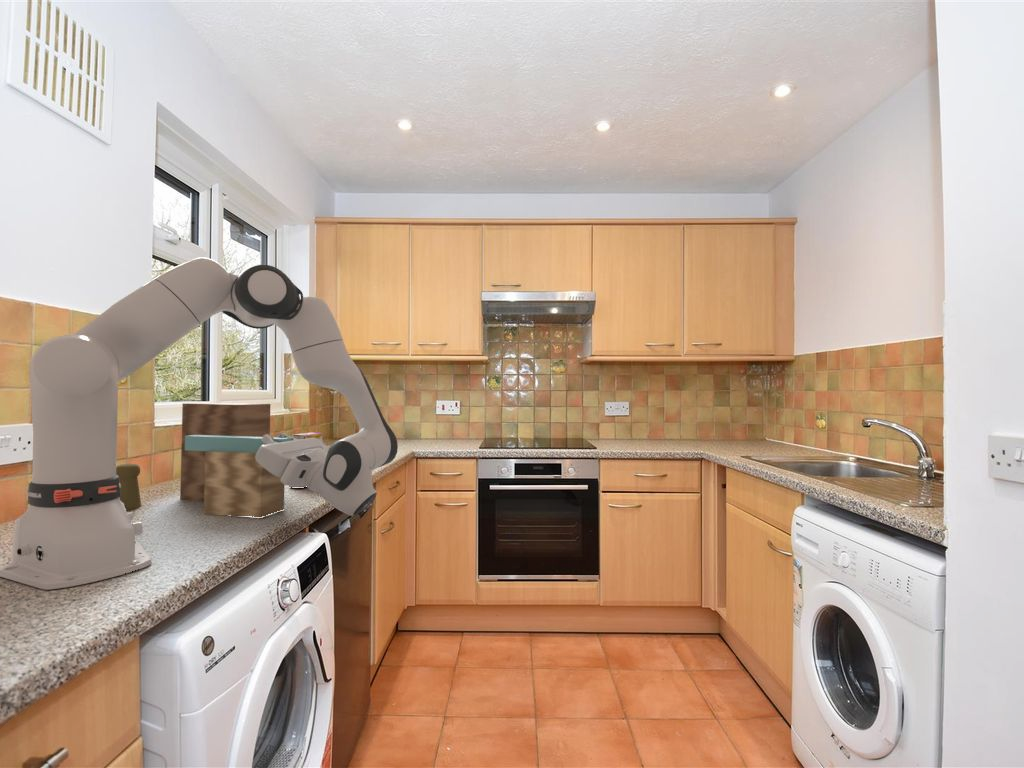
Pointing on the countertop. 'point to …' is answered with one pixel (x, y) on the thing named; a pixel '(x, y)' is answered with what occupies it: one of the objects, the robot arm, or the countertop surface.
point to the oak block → (240, 486)
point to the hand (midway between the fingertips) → (272, 436)
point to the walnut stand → (215, 422)
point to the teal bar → (226, 443)
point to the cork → (129, 485)
